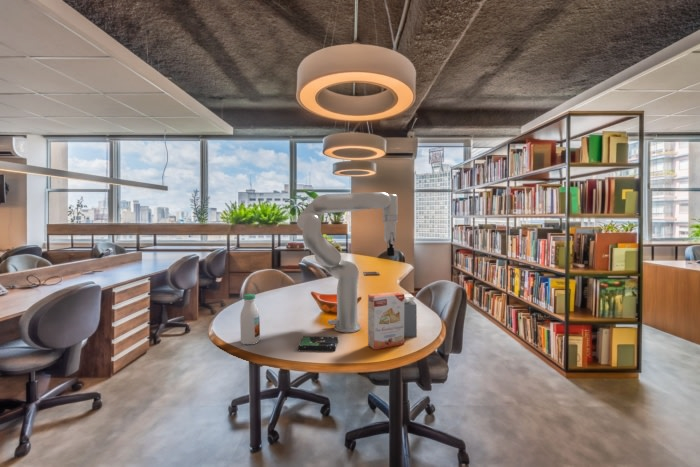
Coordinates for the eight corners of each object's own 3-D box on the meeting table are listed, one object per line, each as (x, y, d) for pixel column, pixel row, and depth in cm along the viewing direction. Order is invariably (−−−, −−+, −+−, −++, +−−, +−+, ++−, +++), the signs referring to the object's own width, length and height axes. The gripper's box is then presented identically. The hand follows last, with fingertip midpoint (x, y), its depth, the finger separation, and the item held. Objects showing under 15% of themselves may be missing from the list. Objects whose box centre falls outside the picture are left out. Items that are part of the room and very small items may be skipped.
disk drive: (337, 343, 132) (302, 342, 133) (337, 336, 132) (303, 335, 133) (335, 353, 121) (297, 352, 122) (335, 346, 121) (297, 344, 122)
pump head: (401, 328, 134) (401, 299, 134) (397, 321, 143) (397, 294, 143) (415, 327, 134) (415, 298, 134) (410, 321, 143) (410, 294, 143)
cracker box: (374, 350, 122) (374, 297, 121) (367, 345, 127) (367, 294, 127) (405, 344, 127) (404, 293, 127) (397, 339, 133) (396, 290, 132)
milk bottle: (249, 346, 127) (248, 297, 127) (236, 343, 131) (235, 295, 131) (263, 340, 134) (262, 293, 133) (251, 337, 138) (250, 292, 137)
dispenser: (398, 336, 136) (398, 304, 136) (395, 330, 144) (395, 300, 144) (416, 336, 136) (416, 304, 136) (412, 330, 144) (412, 300, 144)
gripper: (381, 219, 164) (381, 254, 165) (384, 218, 149) (384, 257, 150) (395, 219, 164) (395, 254, 165) (400, 218, 149) (400, 257, 150)
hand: (390, 255), depth 157 cm, fingers closed
